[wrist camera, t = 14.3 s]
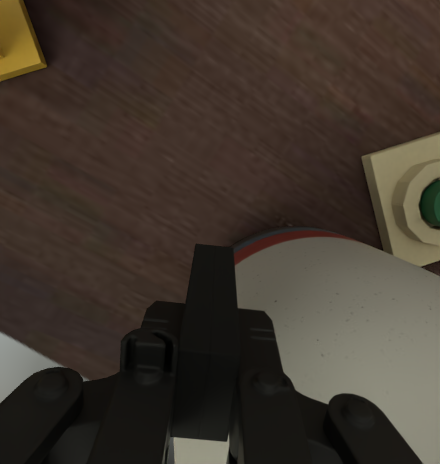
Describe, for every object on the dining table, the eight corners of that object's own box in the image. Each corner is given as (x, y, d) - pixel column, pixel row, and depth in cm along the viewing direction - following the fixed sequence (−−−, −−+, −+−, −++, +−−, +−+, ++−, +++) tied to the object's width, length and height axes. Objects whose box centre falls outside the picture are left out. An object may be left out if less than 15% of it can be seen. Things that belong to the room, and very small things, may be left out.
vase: (141, 330, 32) (9, 738, 9) (271, 175, 31) (501, 189, 8) (289, 438, 35) (479, 971, 12) (414, 299, 34) (909, 587, 10)
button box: (474, 241, 33) (506, 249, 30) (387, 268, 33) (409, 280, 30) (452, 127, 32) (484, 122, 28) (360, 156, 31) (381, 154, 28)
